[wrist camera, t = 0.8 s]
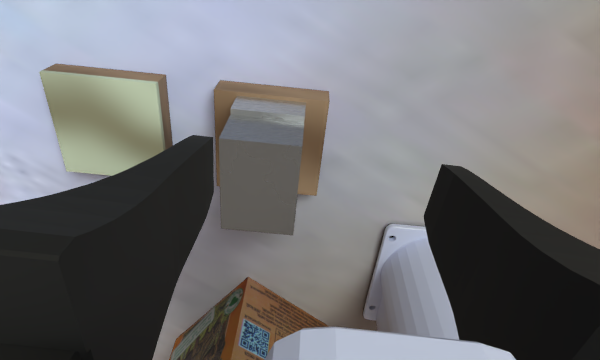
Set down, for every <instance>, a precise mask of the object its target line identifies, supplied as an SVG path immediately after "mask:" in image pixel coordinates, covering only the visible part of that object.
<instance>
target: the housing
mask: <svg viewBox="0 0 600 360" xmlns="http://www.w3.org/2000/svg"><path fill="white" fill-rule="evenodd" d="M305 109H306V103H305V102H296V101H286V100H276V99H266V98H256V97H246V96H237V97H236V99H235V101H234V103H233V105H232V107H231V109H230V110H231V115H230V117H229V119H228V121H227V123H226V125H225V127H224V129H223V131H222V133H221V135H220V137H219V165H220V205H221V228H222V229H232V230H243V231H253V232H264V233H274V234H284V235H293V231H294V222H295V212H296V203H297V193H298V184H299V174H300V165H301V155H302V146H303V133H304V120H305Z"/></svg>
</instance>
